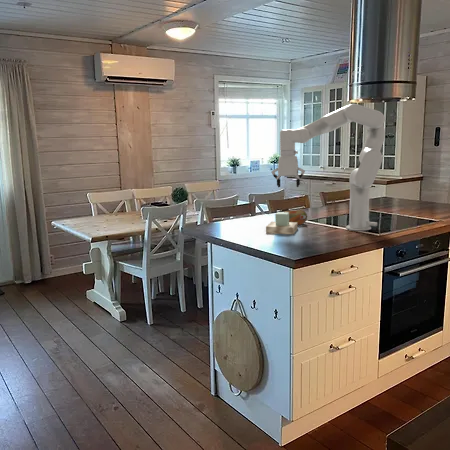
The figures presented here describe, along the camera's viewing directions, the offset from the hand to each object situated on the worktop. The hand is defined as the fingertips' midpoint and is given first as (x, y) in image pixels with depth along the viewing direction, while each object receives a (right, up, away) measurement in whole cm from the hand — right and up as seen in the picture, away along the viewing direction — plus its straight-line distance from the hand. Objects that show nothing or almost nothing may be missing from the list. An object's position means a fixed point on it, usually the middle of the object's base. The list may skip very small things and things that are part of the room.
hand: (288, 186), depth 243 cm
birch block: (-3, -23, +2) cm, 24 cm away
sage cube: (-3, -20, +1) cm, 20 cm away
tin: (+5, -20, +18) cm, 27 cm away
